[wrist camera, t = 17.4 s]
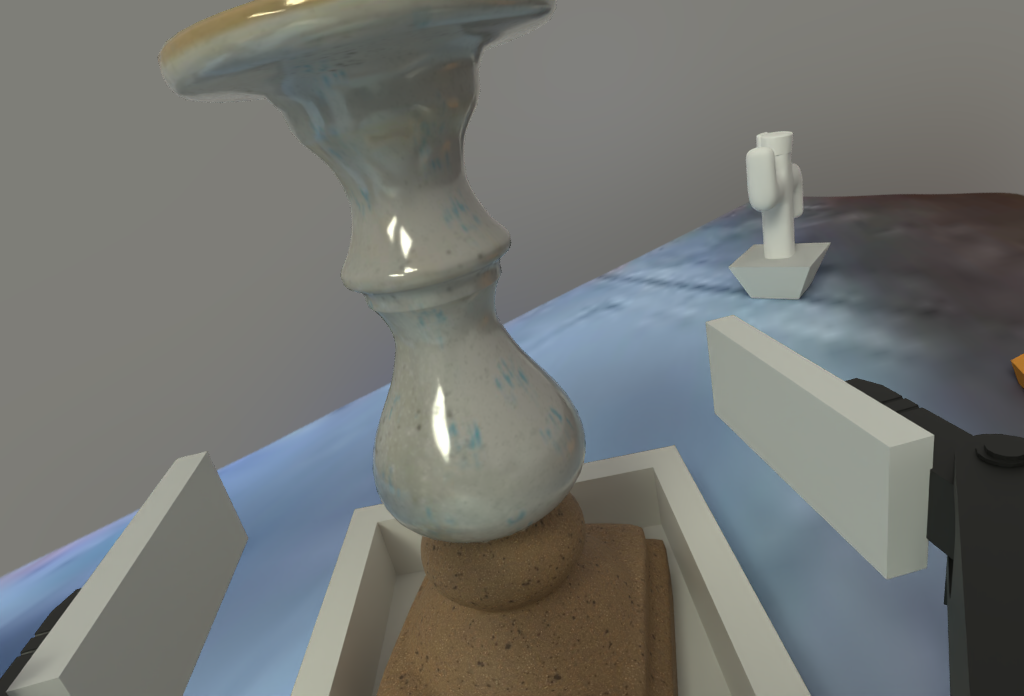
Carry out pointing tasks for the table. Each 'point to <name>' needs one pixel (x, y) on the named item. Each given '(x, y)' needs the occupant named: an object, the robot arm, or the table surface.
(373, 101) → the candle holder
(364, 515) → the rimmed tray
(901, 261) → the table surface
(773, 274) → the figurine
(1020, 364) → the pan flute
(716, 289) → the table surface
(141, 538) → the robot arm
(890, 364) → the table surface
